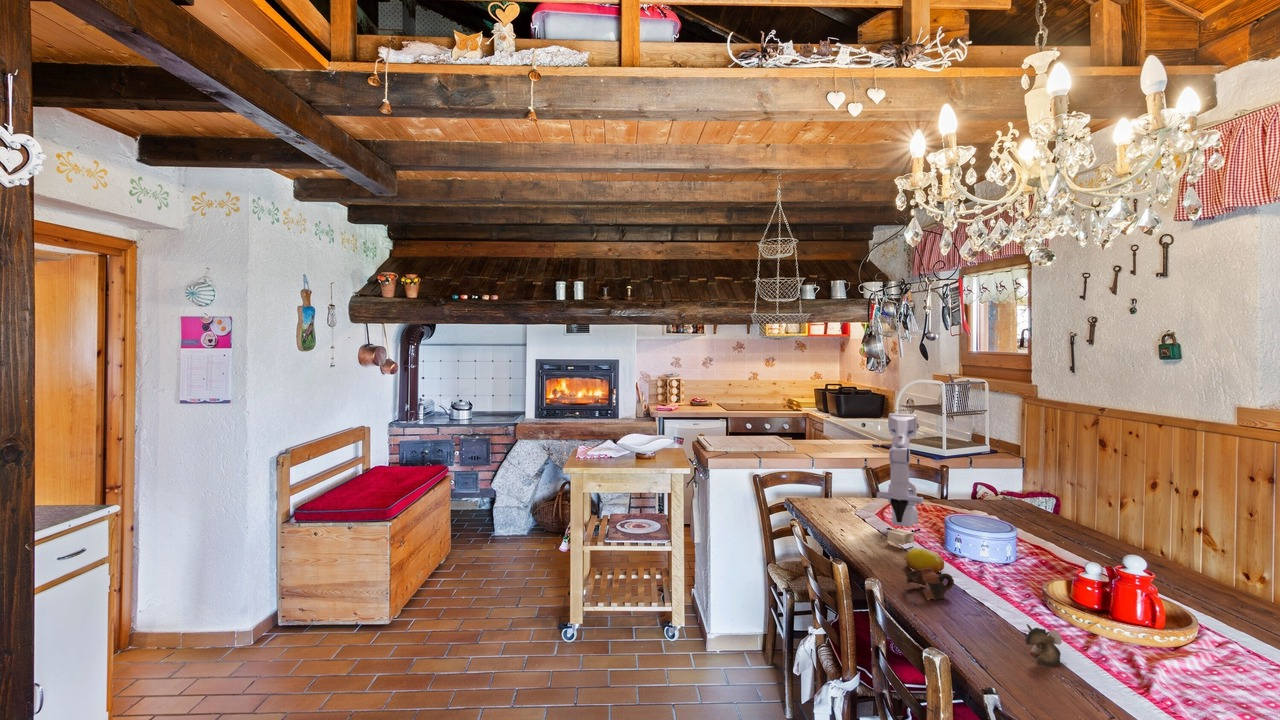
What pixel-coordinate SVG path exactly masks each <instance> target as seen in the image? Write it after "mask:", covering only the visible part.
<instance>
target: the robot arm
mask: <svg viewBox="0 0 1280 720" xmlns="http://www.w3.org/2000/svg"><path fill="white" fill-rule="evenodd" d="M887 419H888V420H887V421H888V424H887V425H888V432H889V434H890V435H891V436H892V439H891V447H890V448H889V450H888V451H889V453H888V460H889V469H890V483H889V484H888V488H887V489H888V490H887V492H884V491H877V492H876V499H882V500H883V499H884V500H887V502H888V503H889V505H890V506H891V524H892V523H893V524H895V525H900V526H912V525H913V524H916V523H918V524H919V512H918V509H917V508H916V506H917V504H920V505H923V504H924V497H922V496H918V495H917V487H916V485H915V484H914V483H913V482H912V481H910V479H909V478H910V477H909V476H910V475H909V474H910V473H909V472H910V470H909V468H910V466H909V465H910V464H911V451H910V450H911V449H910V443H911V442H910V440H911V438H912V437H915V436H916V434H917V429H918V428H917V427H918V424H917V423H918V417H917V414H915V413H913V414H911V413H891V412H890V413H888V418H887Z"/></svg>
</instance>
